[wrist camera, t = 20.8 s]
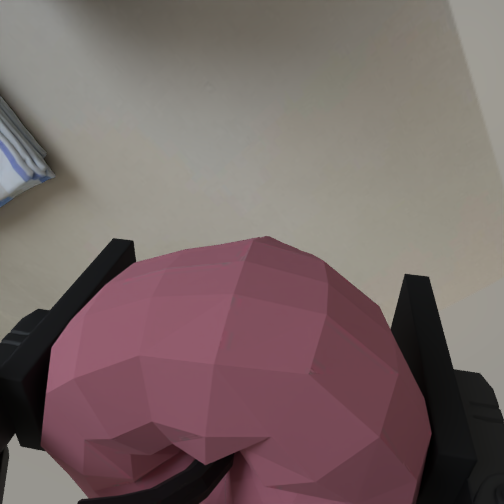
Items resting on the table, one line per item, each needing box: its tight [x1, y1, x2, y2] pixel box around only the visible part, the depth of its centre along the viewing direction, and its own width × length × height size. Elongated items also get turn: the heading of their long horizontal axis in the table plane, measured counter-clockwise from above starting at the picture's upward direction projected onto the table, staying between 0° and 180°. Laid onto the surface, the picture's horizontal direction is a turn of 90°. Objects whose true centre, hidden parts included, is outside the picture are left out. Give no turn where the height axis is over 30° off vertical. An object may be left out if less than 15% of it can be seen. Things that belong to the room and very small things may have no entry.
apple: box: [41, 236, 432, 504], centre depth 12 cm, size 10×9×10 cm
